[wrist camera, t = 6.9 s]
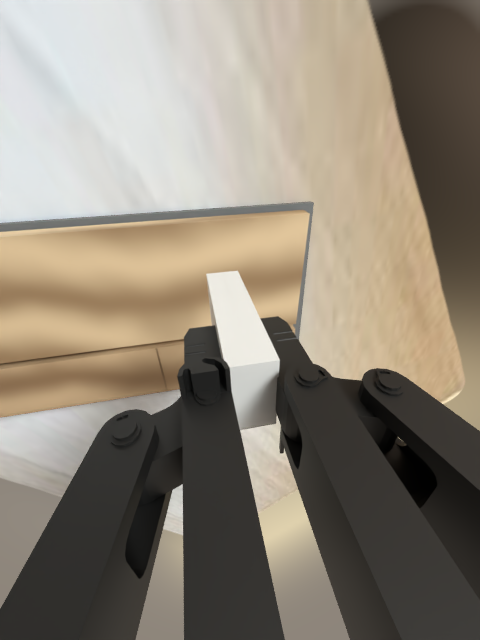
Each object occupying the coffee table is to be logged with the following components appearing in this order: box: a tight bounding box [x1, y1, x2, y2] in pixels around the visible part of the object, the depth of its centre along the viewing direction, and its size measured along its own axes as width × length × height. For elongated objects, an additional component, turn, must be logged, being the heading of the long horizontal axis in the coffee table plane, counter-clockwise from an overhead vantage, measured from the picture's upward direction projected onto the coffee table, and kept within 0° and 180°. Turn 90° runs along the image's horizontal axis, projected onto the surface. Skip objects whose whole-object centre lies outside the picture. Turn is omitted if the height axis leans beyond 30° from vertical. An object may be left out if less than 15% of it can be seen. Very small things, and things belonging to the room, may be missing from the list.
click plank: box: [0, 210, 310, 364], centre depth 21 cm, size 10×29×1 cm, turn 92°
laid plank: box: [0, 324, 295, 417], centre depth 26 cm, size 6×29×1 cm, turn 92°
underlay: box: [0, 202, 314, 340], centre depth 24 cm, size 17×31×1 cm, turn 92°
